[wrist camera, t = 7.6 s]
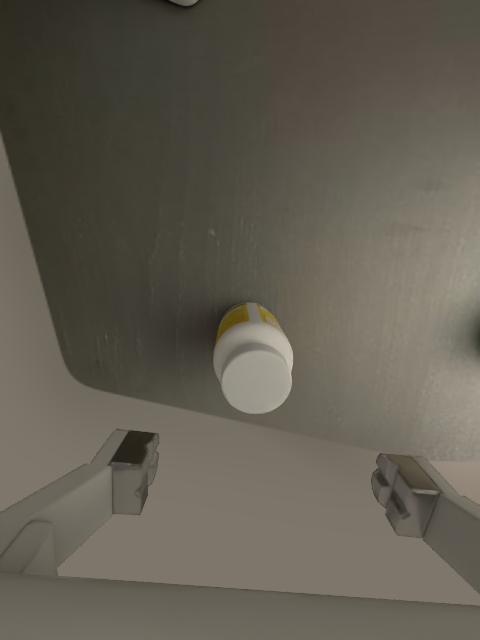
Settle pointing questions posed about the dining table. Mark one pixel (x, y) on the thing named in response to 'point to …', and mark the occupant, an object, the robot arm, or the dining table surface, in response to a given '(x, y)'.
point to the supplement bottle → (253, 359)
